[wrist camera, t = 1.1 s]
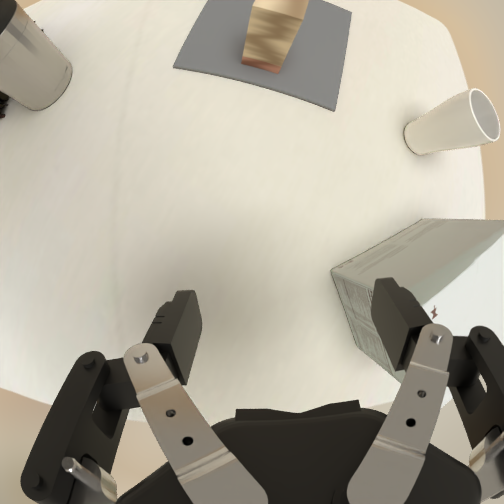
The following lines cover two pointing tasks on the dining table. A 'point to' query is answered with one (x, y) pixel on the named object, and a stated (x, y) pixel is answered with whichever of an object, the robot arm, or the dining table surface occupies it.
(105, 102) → the dining table surface
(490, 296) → the supplement box
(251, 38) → the oak block
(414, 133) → the drinking glass
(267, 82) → the rubber mat
